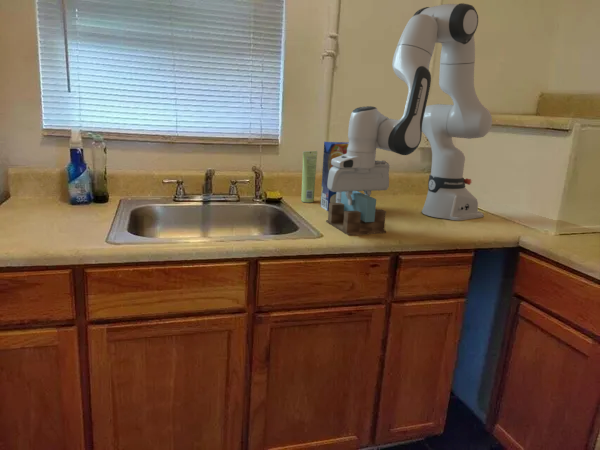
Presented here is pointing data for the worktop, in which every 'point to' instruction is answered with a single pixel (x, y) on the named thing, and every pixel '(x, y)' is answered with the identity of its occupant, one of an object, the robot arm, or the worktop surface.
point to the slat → (361, 205)
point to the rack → (354, 221)
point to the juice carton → (330, 152)
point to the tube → (308, 176)
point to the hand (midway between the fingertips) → (357, 204)
